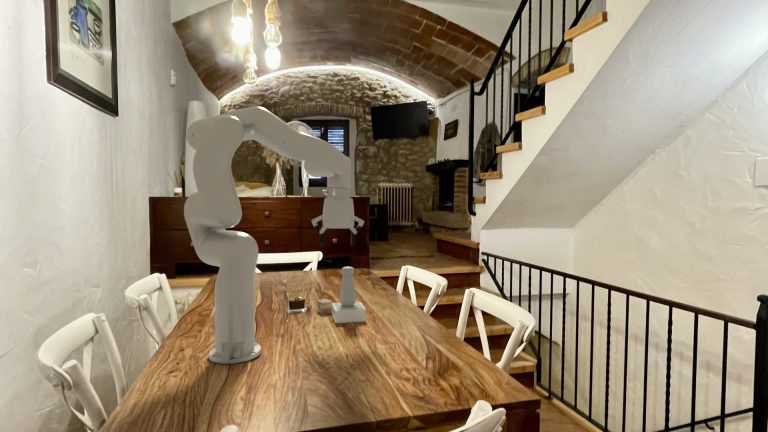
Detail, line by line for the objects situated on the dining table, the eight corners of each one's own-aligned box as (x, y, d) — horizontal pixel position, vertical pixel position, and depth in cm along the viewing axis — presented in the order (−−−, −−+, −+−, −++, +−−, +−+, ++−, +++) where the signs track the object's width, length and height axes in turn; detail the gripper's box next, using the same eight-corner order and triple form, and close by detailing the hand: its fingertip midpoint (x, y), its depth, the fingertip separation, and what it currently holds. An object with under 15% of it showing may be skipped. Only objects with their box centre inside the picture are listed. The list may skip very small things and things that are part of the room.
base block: (365, 321, 134) (365, 308, 133) (335, 323, 131) (335, 310, 131) (360, 312, 143) (360, 300, 143) (331, 314, 141) (331, 302, 141)
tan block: (332, 312, 144) (332, 301, 144) (322, 314, 142) (322, 302, 142) (327, 309, 147) (327, 299, 147) (317, 311, 145) (317, 300, 145)
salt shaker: (357, 303, 140) (358, 265, 139) (354, 308, 134) (355, 268, 133) (341, 302, 140) (341, 265, 140) (337, 307, 135) (337, 268, 134)
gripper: (312, 192, 128) (311, 247, 129) (366, 194, 132) (365, 246, 133) (311, 193, 136) (310, 244, 136) (362, 194, 140) (361, 244, 140)
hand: (337, 245), depth 134 cm, fingers open, 9 cm apart
